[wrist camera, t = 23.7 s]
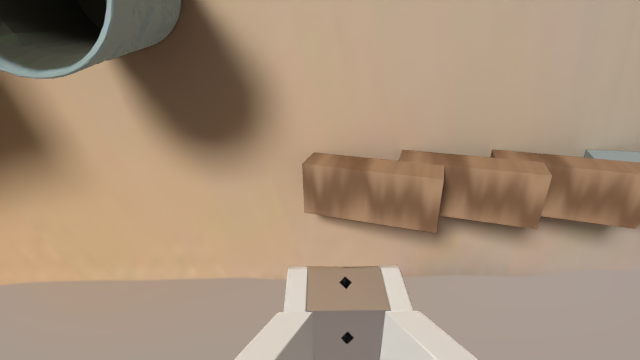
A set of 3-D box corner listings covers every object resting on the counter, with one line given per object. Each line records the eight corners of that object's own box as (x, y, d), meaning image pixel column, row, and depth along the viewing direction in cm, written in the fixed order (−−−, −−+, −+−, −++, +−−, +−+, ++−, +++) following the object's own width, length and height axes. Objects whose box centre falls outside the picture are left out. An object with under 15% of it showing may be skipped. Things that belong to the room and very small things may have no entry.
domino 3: (496, 160, 31) (659, 176, 28) (492, 149, 34) (641, 162, 31) (485, 208, 33) (636, 228, 30) (482, 195, 36) (621, 212, 33)
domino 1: (302, 163, 31) (443, 179, 27) (313, 152, 34) (444, 165, 30) (304, 212, 33) (436, 233, 30) (315, 198, 36) (437, 215, 32)
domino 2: (398, 160, 31) (552, 175, 28) (402, 149, 34) (543, 162, 30) (394, 209, 33) (537, 229, 30) (398, 195, 36) (529, 212, 32)
